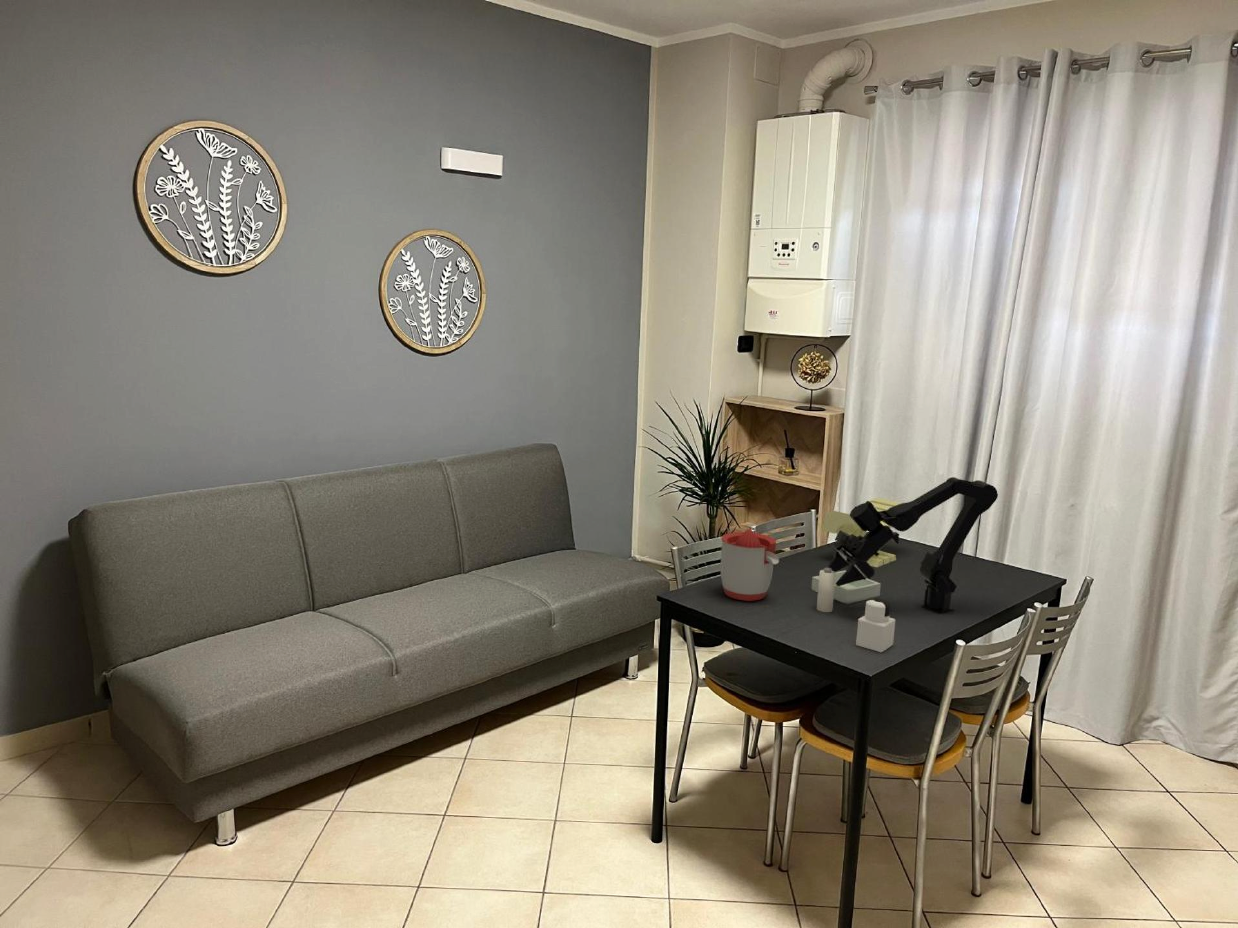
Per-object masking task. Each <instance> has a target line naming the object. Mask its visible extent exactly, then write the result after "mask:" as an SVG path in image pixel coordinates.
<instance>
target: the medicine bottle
mask: <svg viewBox="0 0 1238 928" xmlns="http://www.w3.org/2000/svg"><path fill="white" fill-rule="evenodd" d="M865 601H866V602H865V610H864V615H862V616H861V617H860V618H858V619H857V625H856V627H857V629H856V638H855V639H856V640H855V645H856V646H858V647H861V648H865V649H868V650H871V651H874V652H878V653H882V652H884V651H886V650H887V649H889V648H890V647H892V646H893V645H894V638H895V628H896V619H895V618H892V617H890V615H891V609H892V608H891V606H892V604H891V603H890V601H888V600H886V599H883V598H879V597H875V598H871V599H867V600H865Z"/></svg>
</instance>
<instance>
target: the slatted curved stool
mask: <svg viewBox="0 0 1238 928" xmlns="http://www.w3.org/2000/svg"><path fill="white" fill-rule="evenodd" d="M869 501H870V502H871V503H872V504H873V505H874V507H875V509H876V510H877V511H885V510H888V509H889V508H891V507H893V506H896V505H899V504H901V503H904V501H903V502H901V501H898V500H892V499H888V498H883V497H875V498H873V499H871V500H869ZM881 524H882V525H883V526H885V525H886V526H889V525H887V524H886V523H884V522H882V521H881ZM889 528H890V529H892V528H893V527H891V526H889ZM822 529H823V530H822V531H823V532H826V533H829V534H830V533H831V534H836V536H837V535H838V533H839V531H840V530H841V531H843V532H845V533H847V534H849V535H851V534H853V535H854V536H857V537H858V536H860V535H861V536H862V537H863V536H865V535H866V534H867V533H868V531H862V529H861V528H860V527H859V526H858V525H857V524H856V523H855V522H854V520H853V519H852V518H851V517H850V513H845V512H840V511H837V510H830V511H828V512H827V513H826V514H825V516H824V520H823V527H822ZM836 542H838V541H836ZM878 553H879V555H878V556H875V555H874V556H873V557H871V558H870V559H869V560H868V561H867V563H868V564H869V565H870V566H871V567H872V568H879V567H882V566H883V565H887V564H890V563H891V562H894V561H897V556H896V554H893V553H889V552H887V551H886V552H885V551H882V550H881V549H880V550H879V551H878Z"/></svg>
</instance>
